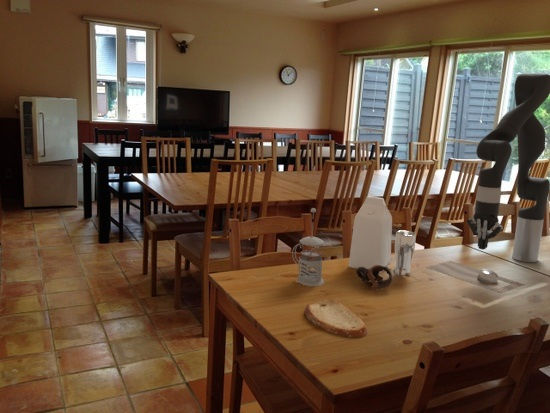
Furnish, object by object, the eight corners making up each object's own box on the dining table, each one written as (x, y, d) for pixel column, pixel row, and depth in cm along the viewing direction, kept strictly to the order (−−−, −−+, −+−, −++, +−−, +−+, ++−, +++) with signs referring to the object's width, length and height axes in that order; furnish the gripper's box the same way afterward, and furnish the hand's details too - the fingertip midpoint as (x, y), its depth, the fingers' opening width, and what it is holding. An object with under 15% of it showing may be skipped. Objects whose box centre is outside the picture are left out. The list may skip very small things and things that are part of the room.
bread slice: (367, 340, 125) (368, 326, 125) (297, 331, 129) (298, 317, 128) (369, 312, 143) (370, 300, 142) (307, 304, 146) (308, 293, 145)
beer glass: (410, 271, 179) (414, 231, 176) (413, 277, 172) (417, 236, 169) (391, 269, 179) (394, 230, 176) (393, 276, 172) (397, 235, 169)
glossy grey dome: (484, 274, 172) (487, 267, 171) (498, 284, 168) (502, 277, 167) (473, 277, 169) (477, 269, 168) (488, 287, 165) (491, 280, 164)
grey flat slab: (450, 263, 189) (450, 260, 188) (524, 287, 166) (524, 284, 166) (425, 270, 180) (425, 267, 180) (500, 296, 157) (500, 292, 157)
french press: (315, 288, 158) (320, 212, 153) (285, 280, 164) (288, 207, 159) (329, 280, 166) (333, 208, 161) (299, 272, 172) (302, 203, 167)
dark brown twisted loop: (389, 283, 167) (397, 267, 161) (384, 304, 160) (391, 288, 154) (356, 271, 169) (361, 255, 163) (349, 290, 162) (354, 274, 157)
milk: (390, 265, 184) (396, 197, 179) (379, 273, 175) (385, 202, 169) (360, 259, 191) (365, 193, 185) (348, 266, 181) (353, 197, 176)
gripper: (512, 202, 162) (506, 252, 166) (476, 195, 173) (471, 242, 177) (500, 204, 158) (493, 255, 162) (464, 197, 169) (458, 245, 172)
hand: (482, 248), depth 169 cm, fingers closed
